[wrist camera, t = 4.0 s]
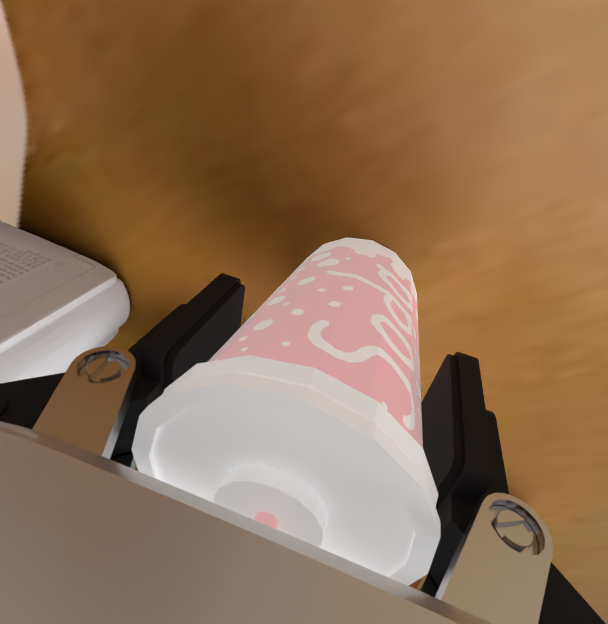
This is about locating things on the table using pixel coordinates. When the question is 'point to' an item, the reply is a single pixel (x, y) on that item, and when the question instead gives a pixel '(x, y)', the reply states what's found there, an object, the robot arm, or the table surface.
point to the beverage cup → (313, 415)
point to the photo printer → (52, 305)
